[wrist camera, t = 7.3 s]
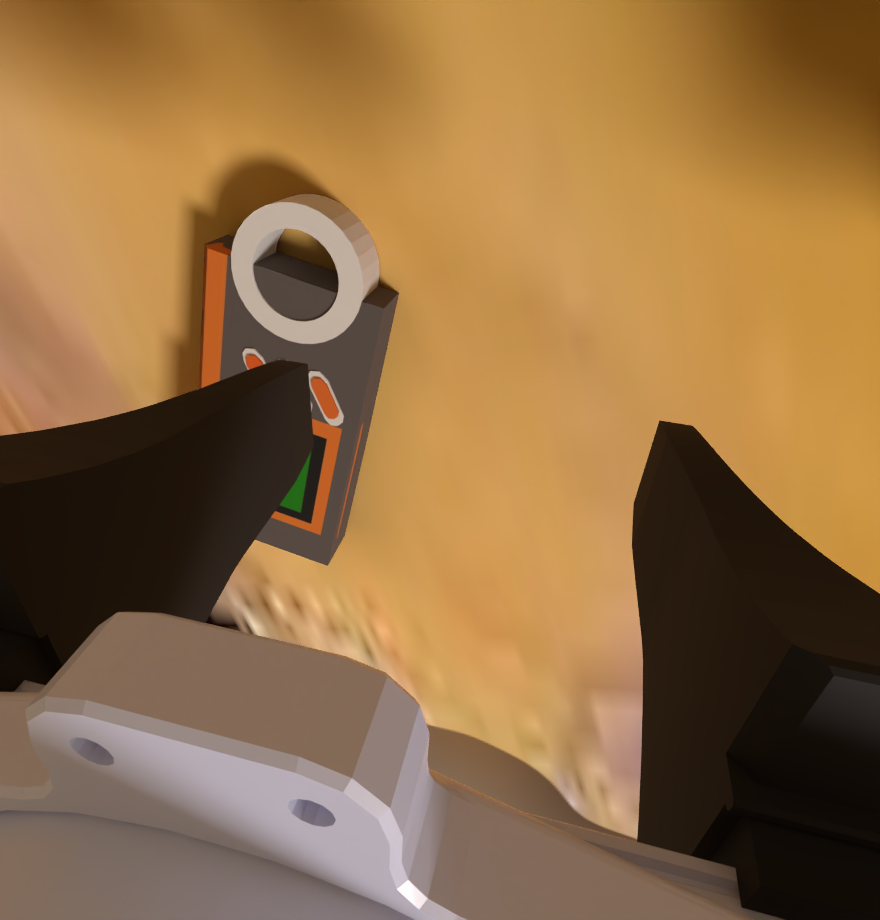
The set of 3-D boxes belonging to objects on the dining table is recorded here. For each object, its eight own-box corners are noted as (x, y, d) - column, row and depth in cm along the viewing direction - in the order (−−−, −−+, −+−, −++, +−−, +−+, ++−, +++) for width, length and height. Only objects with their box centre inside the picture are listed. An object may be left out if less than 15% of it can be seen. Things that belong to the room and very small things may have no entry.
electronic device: (396, 238, 19) (323, 576, 27) (420, 221, 21) (346, 535, 29) (191, 170, 19) (181, 525, 27) (238, 160, 21) (216, 489, 30)
